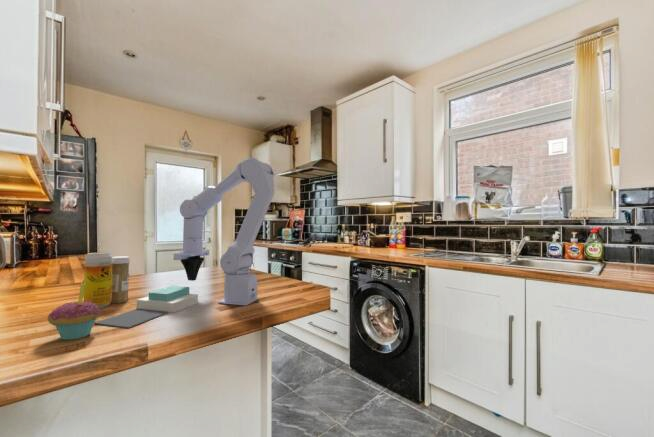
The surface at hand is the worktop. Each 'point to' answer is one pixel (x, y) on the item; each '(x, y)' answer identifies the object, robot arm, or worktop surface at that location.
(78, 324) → the cupcake
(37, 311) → the worktop surface
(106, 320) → the mat
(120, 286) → the sprinkles bottle
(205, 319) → the worktop surface
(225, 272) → the robot arm
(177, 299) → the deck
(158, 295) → the teal rectangular block
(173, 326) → the worktop surface
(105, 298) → the beer can
